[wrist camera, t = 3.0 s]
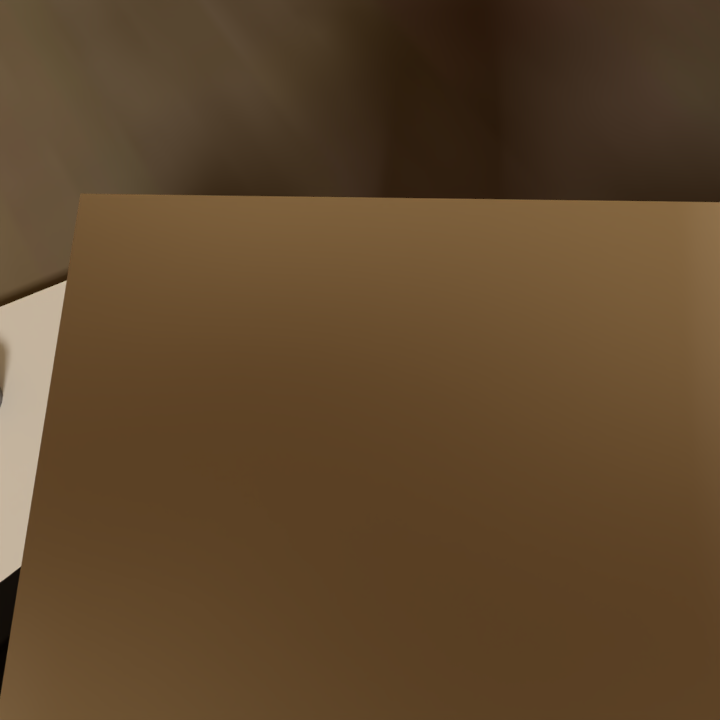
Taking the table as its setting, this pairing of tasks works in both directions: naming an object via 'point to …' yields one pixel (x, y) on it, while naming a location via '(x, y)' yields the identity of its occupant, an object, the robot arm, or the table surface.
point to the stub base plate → (23, 409)
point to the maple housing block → (377, 464)
